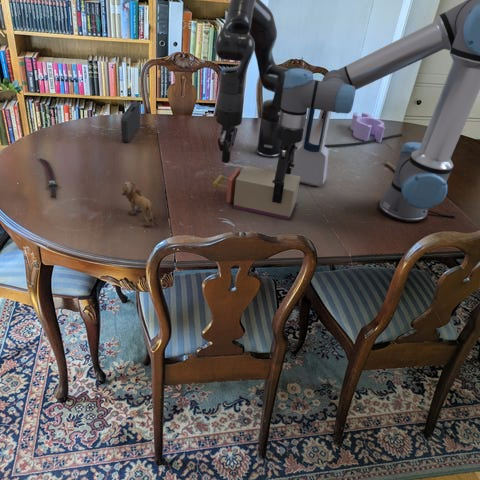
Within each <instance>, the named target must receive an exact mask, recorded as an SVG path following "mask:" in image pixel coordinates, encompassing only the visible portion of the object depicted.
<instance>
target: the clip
mask: <svg viewBox="0 0 480 480" xmlns="http://www.w3.org/2000/svg"><path fill="white" fill-rule="evenodd" d="M358 114H359V113H358V112H353V114H352V118H351V122H350V126H349V129H350V130H351V131H353V132H352V136H353V137H354V138H356V139H358V140H361V141H363V142H364V141H369V140H370V135H372V136H374V139H376V140H377V141H375V142H376V143H382V138H383V137H384V132H385V129H386V127H385V122H384V121H383V120H380V119H377V118H374V117H372V115H371V114H369V113H366V112H361V115H358Z"/></svg>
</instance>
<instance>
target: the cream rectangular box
mask: <svg viewBox="0 0 480 480" xmlns="http://www.w3.org/2000/svg"><path fill="white" fill-rule="evenodd" d="M275 174H276V171H275V170H270V169H265V168H259V167H256V166H250V165H245V166H244V167H243V168H242V169H241V171H240V175H239V176H238V177H237V179H236V186H235V196H234V197H233V206H232V207H233V209H234V208H235V209H237V210H243V211H247V212H251V213H255V214H261V215H266V216H271V217H275V218H279V219H284V220H287V221H290V220H291V217H292V214H293V212H294V209H295V207H296V204H297V198H298V194H299V193H298V192H299V187H300V176H296V175H291V174H285V179H284V188H283V195H282V201H281V204H280V203H275V202H272V198H273V192H274V185H275V184H274V183H272V181H273V180H274V179H275Z"/></svg>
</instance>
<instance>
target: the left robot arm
mask: <svg viewBox="0 0 480 480" xmlns="http://www.w3.org/2000/svg"><path fill="white" fill-rule="evenodd" d="M227 8H228V9H227V13H226V20H225V23H224V24H223V26H222V28H221V29H220V31H219V33H218V35H217V38H216V40H215V44H214V50H215V53H216V55H217V57H218V58H219V59H221V60H225V61H233V62H239V64H238V65H237V66H233V67H227V68H223V69H222V70H221V71H220V75H219V87H218V88H219V89H218V95H217V104H216V105H217V106H216V122H217V123H218V124H219V125H221V128H220V130H219V134H220V137H218V139H217V144H218V148H219V151H220V152H221V153H222V154H221V162H222V163H224V164H229V162H230V161H231V154H232V152H231V151H232V149H233V147H234V145H235V141H236V138H237V137H236V136H237V133H238V126H240V125H241V124H242V122H243V112H244V101H245V100H244V99H245V96H244V94H245V93H244V92H245V81H246V76H247V71H248V68H249V65H250V63H251V60H252V57H253V54H254V55H255V59H256V64H257V67H258V68H257V70H258V74H259V75H258V76H259V79H260V83H261V86H262V87H263V88H264V89H265V90H267V91H269V92H271V93H274V94H273V97H272V99H266V100H263V102H262V105H261V114H260V123H259V131H258V138H257V139H258V140H257V149H256V153H257V154H258V155H259V156H262V157H264V158H265V157H266V158H277V157H279V153H280V152H279V151H280V146H281V145H282V143H283V142H282V141H280V140H279V139H278V138H277V129H278V125H279V117H280V116H279V115H278V112H280V109H281V101H282V93H283V86H284V81H285V75H286V72H287V71H288V70H290V69H288V67H284V66H280V65H278V64H276V62H275V59H274V56H273V49H274V46H275V44H276V42H277V38H278V29H277V25H276V21H275V18H274V14H273V12H272V11H271V9H270V8H269V7H268V6H267V5H266V4H265V3H264V2H263V1H261V0H230V1H229V4H228V7H227ZM401 136H403V134H402V133H398V134H392V135H388V136H383V137H382V140H387V139H392V138H396V137H401ZM382 140H381V141H382ZM376 141H377V140H376V139H375V138H374V139H369V140H368V141H364V140H363V141H358V142H349V143H337V144H336V143H335V144H325V145H324V147H326V148H331V147H332V148H333V147H345V146H347V147H348V146H356V145H364V144H369V143H374V142H376ZM298 147H299V146H295V150H297V148H298Z"/></svg>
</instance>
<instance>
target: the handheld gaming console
mask: <svg viewBox="0 0 480 480" xmlns="http://www.w3.org/2000/svg"><path fill="white" fill-rule="evenodd" d="M120 125H121V126H120V127H121V128H120V131H121V141H122V142H123V143H129V142H130V141H131V139H132V138H133V136H134V134H136V131H137V130H138V129H139V127H140V125H141V103H140V101H132V103H131V104H130V105H129V107H128V108H127V109H126V111H124V113H123V115H122V116H121V117H120Z"/></svg>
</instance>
